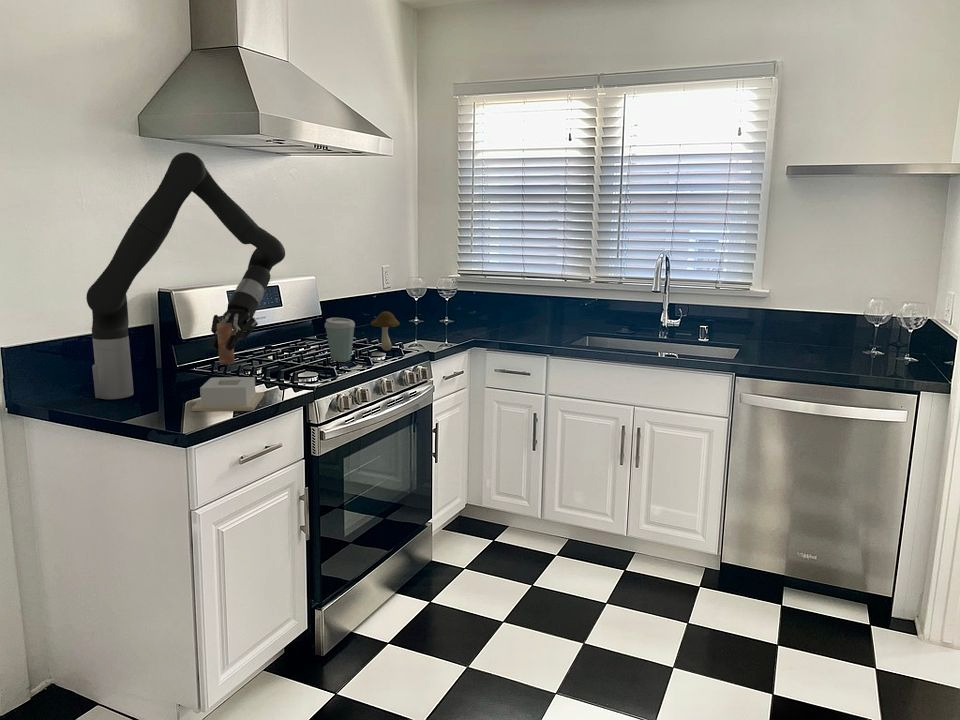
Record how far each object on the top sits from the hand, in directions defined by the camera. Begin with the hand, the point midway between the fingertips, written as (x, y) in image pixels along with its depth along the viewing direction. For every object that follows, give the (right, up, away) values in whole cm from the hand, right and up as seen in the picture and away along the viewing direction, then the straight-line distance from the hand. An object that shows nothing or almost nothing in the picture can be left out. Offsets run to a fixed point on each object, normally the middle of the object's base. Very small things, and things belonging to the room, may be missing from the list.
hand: (221, 348), depth 205 cm
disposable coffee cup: (+21, -4, +60) cm, 64 cm away
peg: (+1, -4, +3) cm, 5 cm away
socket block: (0, -15, +5) cm, 16 cm away
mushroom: (+35, 0, +79) cm, 86 cm away
